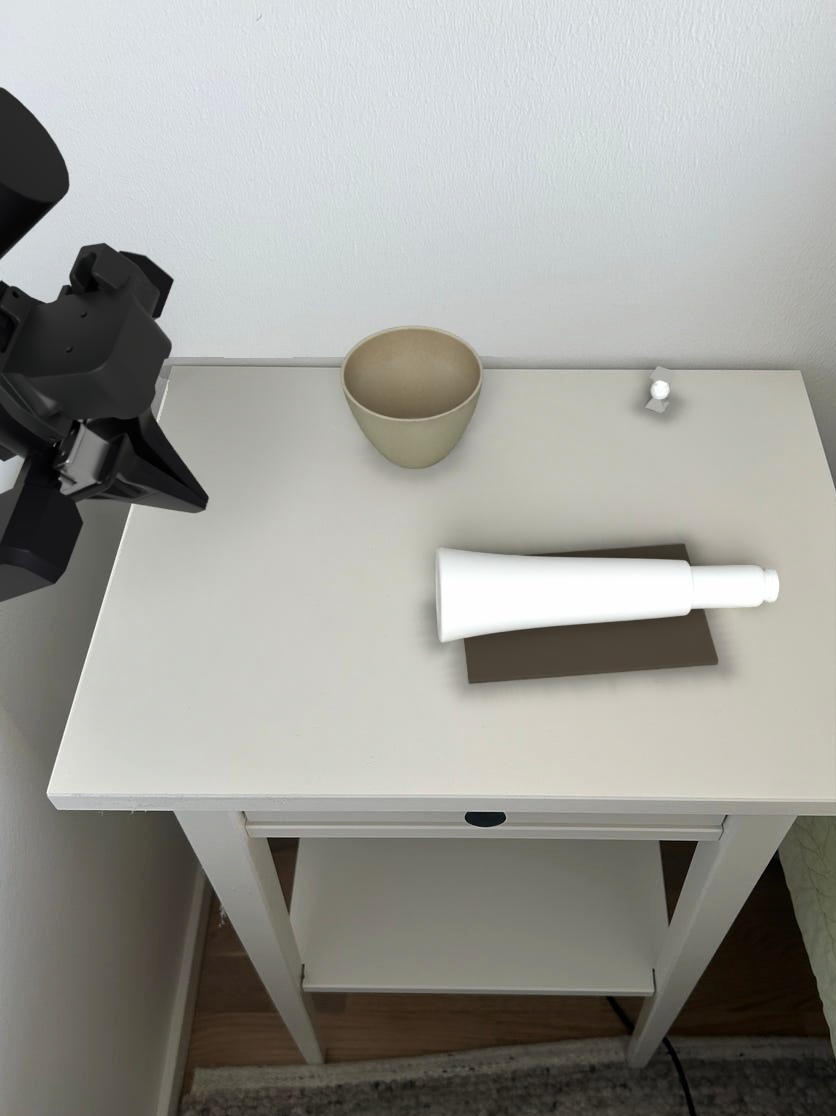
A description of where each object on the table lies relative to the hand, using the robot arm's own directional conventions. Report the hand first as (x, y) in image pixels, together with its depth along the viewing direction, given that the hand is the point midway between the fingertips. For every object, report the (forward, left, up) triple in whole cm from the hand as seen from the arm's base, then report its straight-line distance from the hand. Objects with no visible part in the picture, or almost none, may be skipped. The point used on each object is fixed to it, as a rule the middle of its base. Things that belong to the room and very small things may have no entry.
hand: (202, 506), depth 56 cm
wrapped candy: (-1, +37, -12) cm, 39 cm away
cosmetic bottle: (+6, +11, -9) cm, 15 cm away
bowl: (-8, +19, -12) cm, 24 cm away
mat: (+11, +19, -12) cm, 25 cm away
